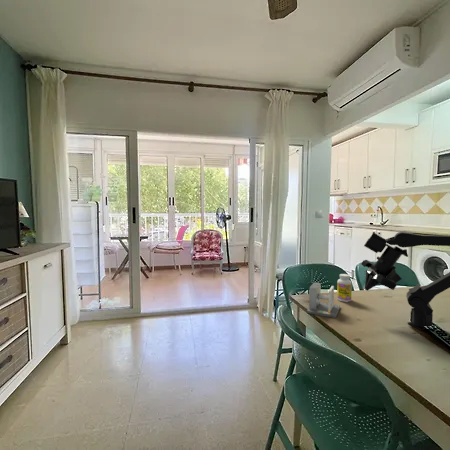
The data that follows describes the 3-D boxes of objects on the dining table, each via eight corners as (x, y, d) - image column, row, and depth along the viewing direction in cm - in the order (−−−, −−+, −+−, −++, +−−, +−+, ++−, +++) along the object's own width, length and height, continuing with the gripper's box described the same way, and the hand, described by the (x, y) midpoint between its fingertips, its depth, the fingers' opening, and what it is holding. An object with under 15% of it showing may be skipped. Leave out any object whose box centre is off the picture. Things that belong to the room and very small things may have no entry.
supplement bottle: (336, 300, 134) (336, 275, 133) (337, 297, 140) (337, 272, 139) (351, 302, 131) (351, 277, 130) (351, 299, 136) (352, 274, 136)
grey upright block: (333, 305, 123) (334, 286, 123) (329, 313, 113) (330, 292, 113) (316, 302, 127) (316, 284, 127) (311, 310, 117) (311, 290, 117)
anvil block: (320, 303, 127) (320, 283, 126) (316, 310, 118) (316, 288, 118) (313, 302, 128) (314, 282, 128) (309, 309, 120) (309, 287, 119)
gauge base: (340, 307, 124) (340, 305, 124) (335, 318, 112) (335, 315, 112) (313, 303, 130) (313, 301, 130) (306, 312, 118) (306, 310, 118)
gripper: (419, 278, 99) (394, 310, 104) (393, 258, 117) (372, 286, 122) (393, 266, 99) (369, 298, 103) (371, 247, 117) (351, 276, 121)
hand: (365, 289), depth 112 cm, fingers closed
